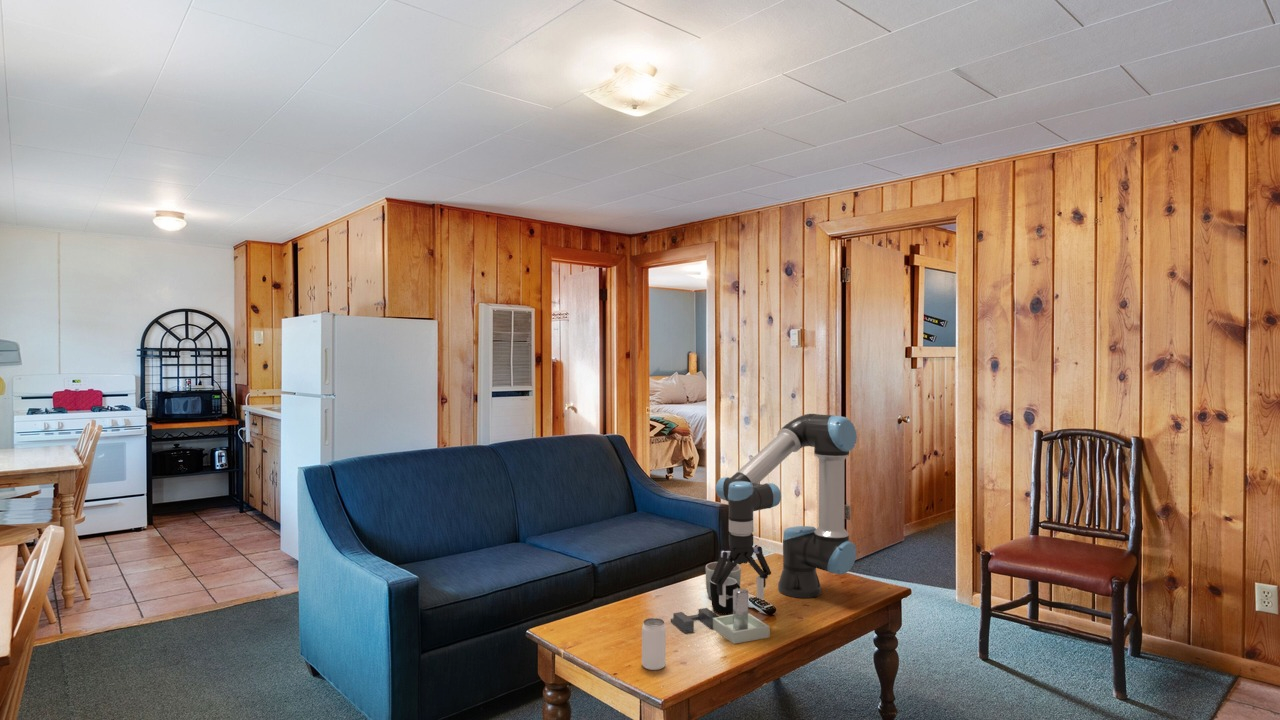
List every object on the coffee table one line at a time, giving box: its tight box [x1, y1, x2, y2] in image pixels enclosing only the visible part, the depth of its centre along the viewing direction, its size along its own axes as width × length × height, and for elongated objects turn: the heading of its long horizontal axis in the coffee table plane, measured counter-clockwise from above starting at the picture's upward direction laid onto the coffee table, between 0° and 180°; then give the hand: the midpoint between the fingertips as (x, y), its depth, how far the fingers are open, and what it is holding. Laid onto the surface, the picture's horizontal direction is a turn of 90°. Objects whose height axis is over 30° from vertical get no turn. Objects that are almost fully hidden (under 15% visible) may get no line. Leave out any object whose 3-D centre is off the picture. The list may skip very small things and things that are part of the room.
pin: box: [732, 587, 749, 631], centre depth 210 cm, size 5×5×12 cm
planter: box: [705, 561, 742, 599], centre depth 241 cm, size 12×12×11 cm
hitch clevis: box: [670, 607, 720, 634], centre depth 216 cm, size 12×10×4 cm
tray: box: [712, 612, 770, 645], centre depth 210 cm, size 13×13×3 cm
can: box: [641, 617, 667, 671], centre depth 188 cm, size 6×6×12 cm
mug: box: [710, 577, 742, 615], centre depth 229 cm, size 12×9×10 cm
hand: (741, 601), depth 211 cm, fingers open, 13 cm apart
